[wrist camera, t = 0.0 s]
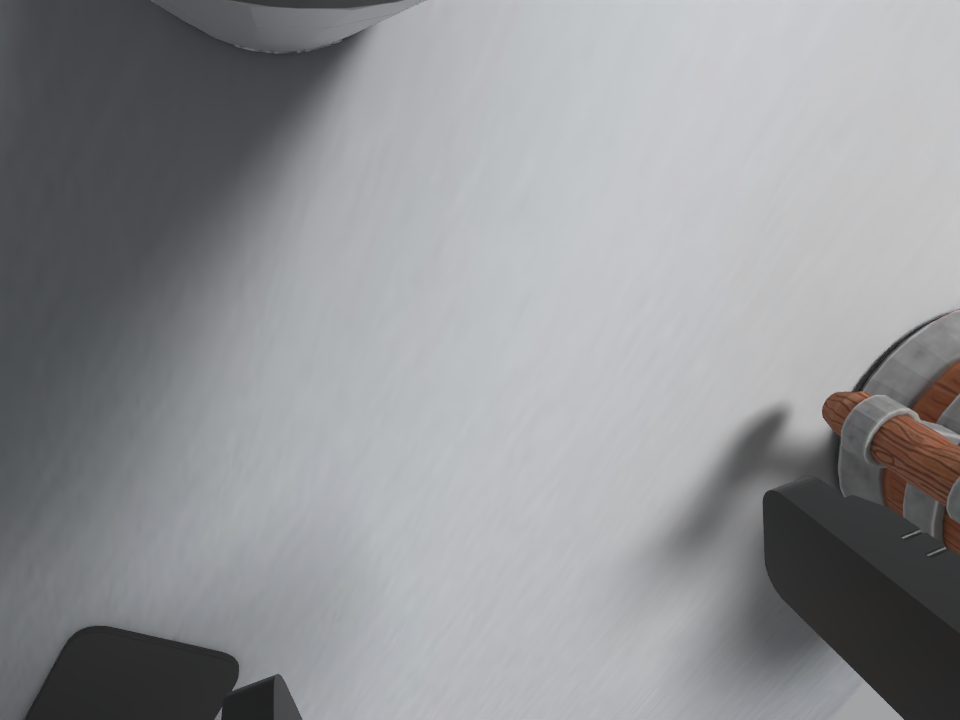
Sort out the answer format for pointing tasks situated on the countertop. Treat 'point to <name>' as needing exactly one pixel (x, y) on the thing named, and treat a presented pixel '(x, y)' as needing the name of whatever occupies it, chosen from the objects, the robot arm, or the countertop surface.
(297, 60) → the countertop surface
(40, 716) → the phone
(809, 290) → the countertop surface
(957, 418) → the mug
